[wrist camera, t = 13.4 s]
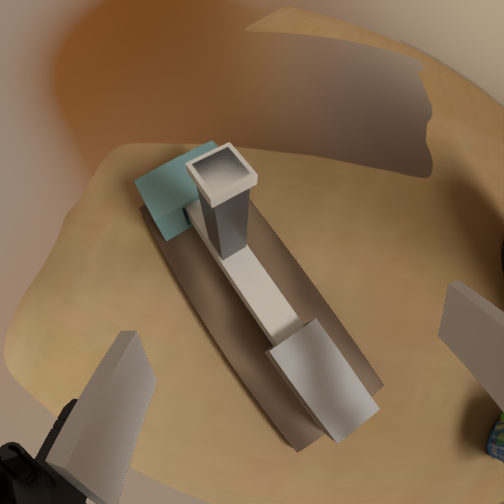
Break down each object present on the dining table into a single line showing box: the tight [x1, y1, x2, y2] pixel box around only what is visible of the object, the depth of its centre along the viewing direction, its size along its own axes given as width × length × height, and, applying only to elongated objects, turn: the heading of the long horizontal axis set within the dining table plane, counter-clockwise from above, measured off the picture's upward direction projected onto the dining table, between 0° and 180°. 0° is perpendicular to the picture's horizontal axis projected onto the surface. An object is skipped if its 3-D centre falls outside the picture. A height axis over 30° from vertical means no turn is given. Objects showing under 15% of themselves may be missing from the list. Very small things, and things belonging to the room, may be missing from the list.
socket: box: [134, 141, 218, 241], centre depth 31 cm, size 10×6×5 cm, turn 124°
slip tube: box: [183, 142, 304, 347], centre depth 22 cm, size 3×22×14 cm, turn 34°
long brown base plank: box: [139, 199, 384, 453], centre depth 28 cm, size 12×34×6 cm, turn 34°
